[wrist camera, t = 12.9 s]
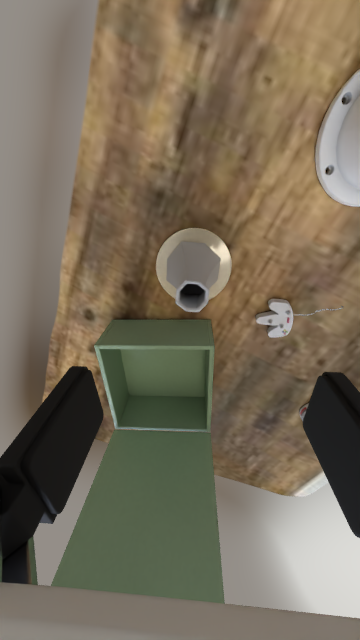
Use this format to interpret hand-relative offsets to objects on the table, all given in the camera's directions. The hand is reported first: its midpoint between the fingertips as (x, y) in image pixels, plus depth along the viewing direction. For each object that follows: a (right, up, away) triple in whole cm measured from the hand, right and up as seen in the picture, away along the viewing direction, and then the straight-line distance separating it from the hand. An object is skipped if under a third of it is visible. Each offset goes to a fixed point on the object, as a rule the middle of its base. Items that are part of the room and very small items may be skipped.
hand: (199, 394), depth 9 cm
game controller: (+16, +4, +23) cm, 28 cm away
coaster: (+1, +10, +20) cm, 23 cm away
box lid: (-4, -17, +17) cm, 25 cm away
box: (-4, -4, +28) cm, 28 cm away
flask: (+1, +10, +20) cm, 22 cm away
